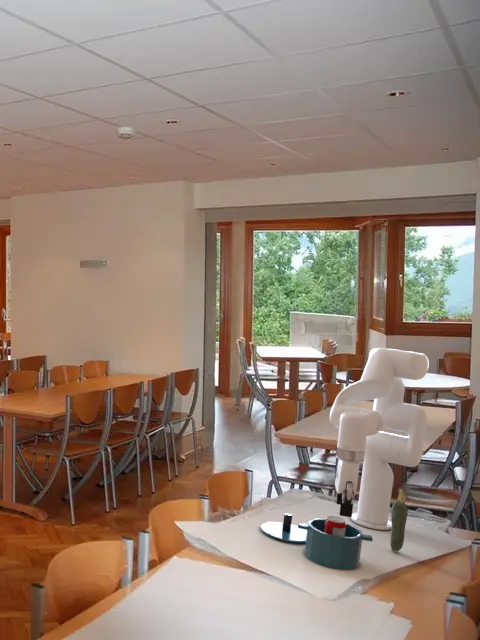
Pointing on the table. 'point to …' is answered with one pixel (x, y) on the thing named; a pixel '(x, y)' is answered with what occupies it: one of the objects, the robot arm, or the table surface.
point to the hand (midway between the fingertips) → (343, 510)
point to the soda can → (335, 526)
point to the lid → (284, 530)
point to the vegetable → (398, 522)
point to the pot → (333, 545)
